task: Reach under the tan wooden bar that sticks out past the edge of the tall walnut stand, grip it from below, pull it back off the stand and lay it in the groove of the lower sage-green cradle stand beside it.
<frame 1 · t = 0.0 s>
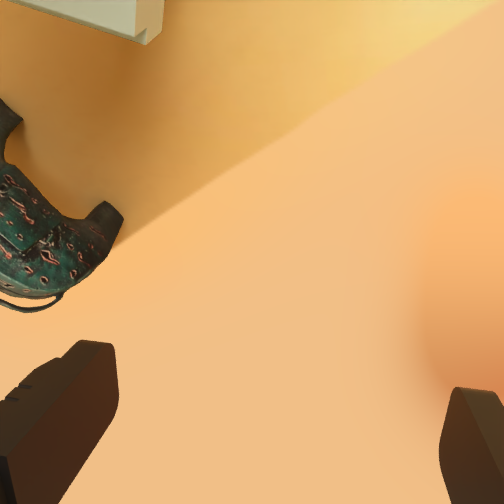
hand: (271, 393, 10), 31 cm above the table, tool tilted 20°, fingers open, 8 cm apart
ceramic cat: (57, 162, 46), on the table
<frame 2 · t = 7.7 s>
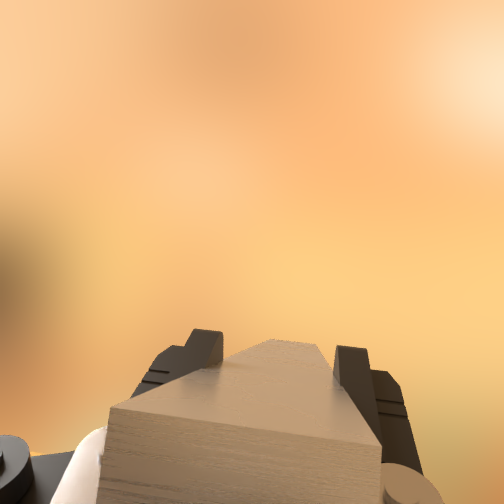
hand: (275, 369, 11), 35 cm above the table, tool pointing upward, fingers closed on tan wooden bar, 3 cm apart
tan wooden bar: (277, 434, 16), point 32 cm above the table, touching gripper, walnut stand
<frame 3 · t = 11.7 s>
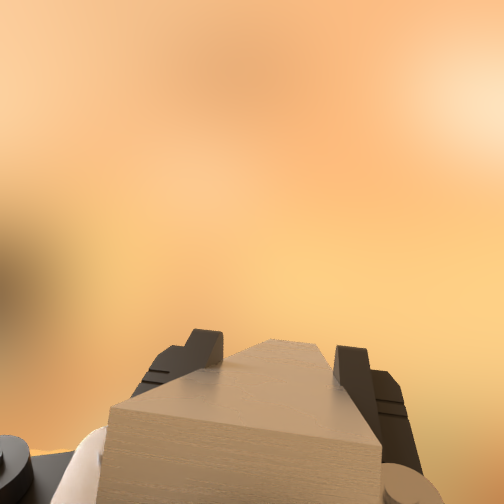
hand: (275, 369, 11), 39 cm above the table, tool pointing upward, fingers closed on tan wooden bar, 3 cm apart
tan wooden bar: (277, 434, 16), point 36 cm above the table, touching gripper
when the fingers open (28 cm above the table, at t = 16.2 s): tan wooden bar drops 1 cm, resting on cradle stand.
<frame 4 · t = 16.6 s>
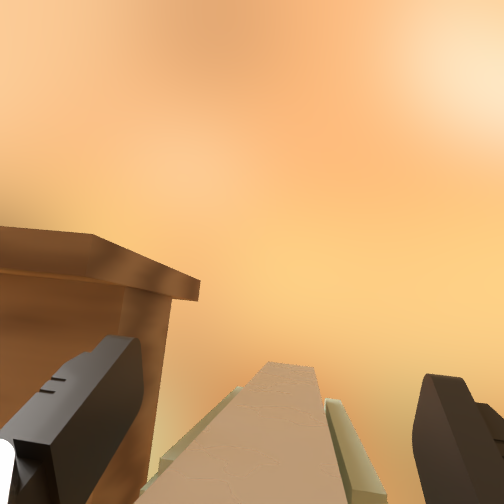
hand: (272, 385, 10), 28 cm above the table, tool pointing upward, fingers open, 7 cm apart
tan wooden bar: (273, 477, 16), point 24 cm above the table, touching cradle stand
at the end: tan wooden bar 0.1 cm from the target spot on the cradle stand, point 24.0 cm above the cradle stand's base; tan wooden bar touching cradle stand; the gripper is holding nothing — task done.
